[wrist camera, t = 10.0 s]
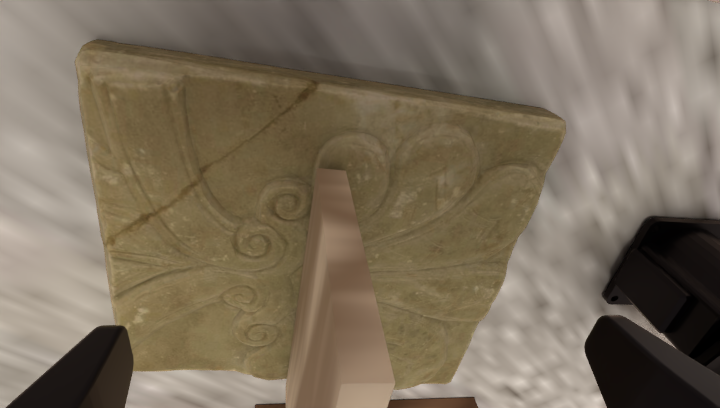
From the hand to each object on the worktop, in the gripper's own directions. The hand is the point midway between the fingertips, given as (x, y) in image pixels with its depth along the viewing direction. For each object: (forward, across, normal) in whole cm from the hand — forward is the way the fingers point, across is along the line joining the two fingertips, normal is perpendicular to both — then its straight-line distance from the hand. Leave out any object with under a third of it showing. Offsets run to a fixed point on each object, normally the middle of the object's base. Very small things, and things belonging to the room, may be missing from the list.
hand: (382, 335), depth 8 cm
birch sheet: (+10, 0, +9) cm, 14 cm away
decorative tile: (+14, 0, +8) cm, 16 cm away
